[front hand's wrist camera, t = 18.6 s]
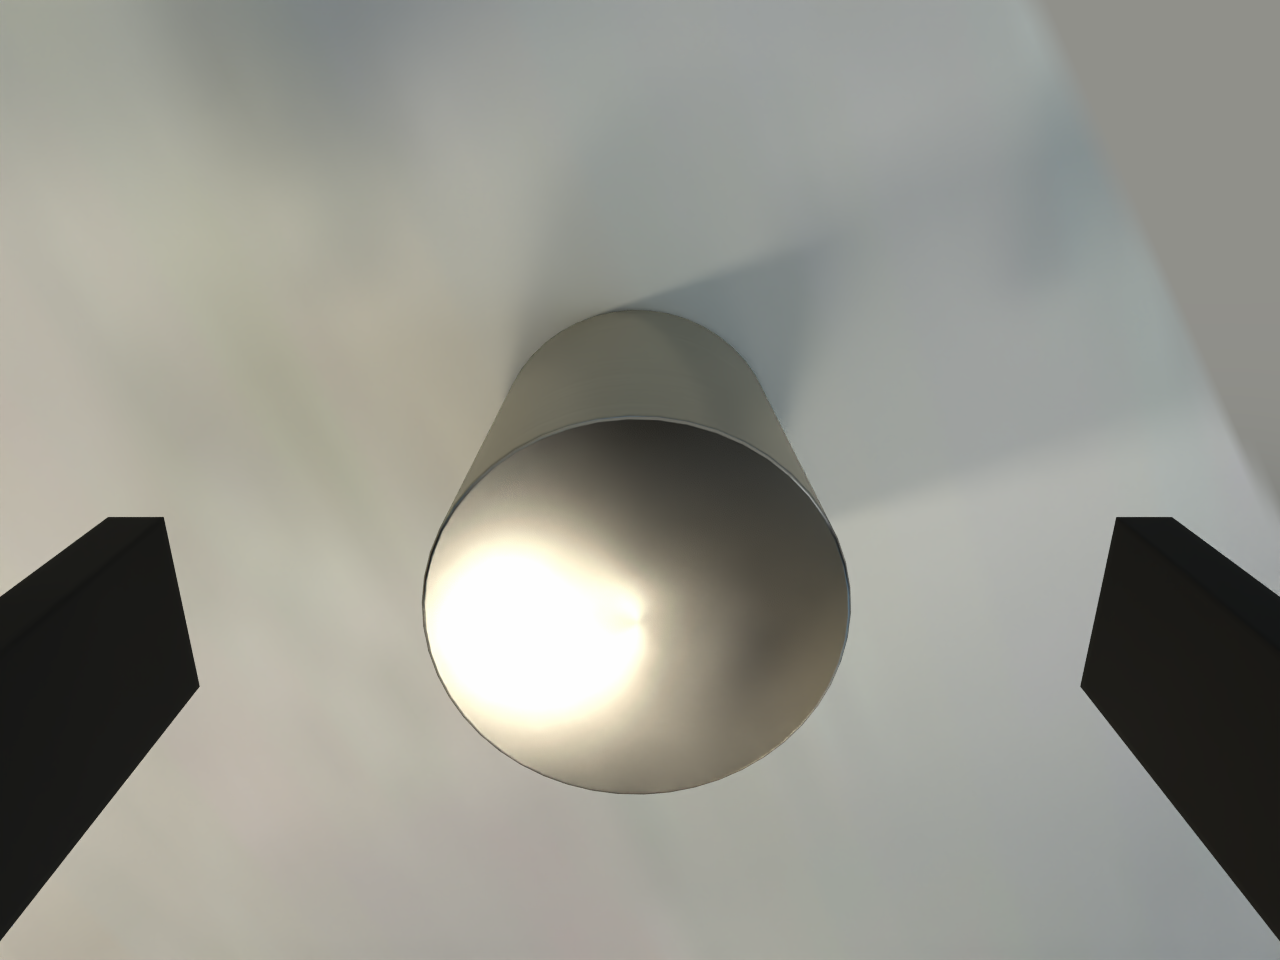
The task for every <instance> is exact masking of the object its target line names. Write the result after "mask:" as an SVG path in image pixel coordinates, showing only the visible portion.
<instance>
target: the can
mask: <svg viewBox="0 0 1280 960" xmlns="http://www.w3.org/2000/svg"><path fill="white" fill-rule="evenodd" d="M422 613H423V627H424V632H425V637H426V642H427V646H428V651H429V654H430V656H431V659H432V662H433V665H434V667H435V670H436V673H437V675H438V677H439V679H440V681H441V683H442V685H443V687H444V688H445V690H446V692H447V694H448V696H449V698H450V699H451V700H452V702H453V703H454V705H455V706H456V707H457V709H458V710H459V711H460V713H461V714H462V716H463V717H464V718H465V719H466V720H467V721H468V722H469V723H470V724H471V725H472V727H473V728H474V729H475V730H476V731H477V732H478V733H479V734H480V735H481V736H482V737H483V738H485V739H486V740H487V741H488V742H489V743H491V744H492V745H493V746H494V747H495V748H497V749H498V750H499V751H500V752H502V753H504V754H505V755H507V756H508V757H510V758H511V759H513V760H514V761H516V762H518V763H519V764H521V765H523V766H525V767H527V768H529V769H531V770H533V771H535V772H537V773H539V774H541V775H543V776H545V777H548V778H551V779H554V780H556V781H559V782H562V783H565V784H568V785H572V786H576V787H580V788H584V789H588V790H592V791H600V792H608V793H615V794H655V793H666V792H673V791H678V790H684V789H689V788H694V787H697V786H701V785H704V784H707V783H710V782H714V781H717V780H720V779H722V778H724V777H727V776H729V775H731V774H734V773H736V772H738V771H741V770H743V769H744V768H746V767H748V766H750V765H751V764H753V763H755V762H757V761H758V760H760V759H762V758H763V757H765V756H766V755H768V754H769V753H770V752H772V751H773V750H774V749H776V748H777V747H778V746H780V745H781V744H782V743H784V742H785V741H786V740H787V739H788V738H789V737H790V736H791V735H792V734H793V733H794V732H795V731H796V730H797V729H799V728H800V727H801V726H802V725H803V723H804V722H805V721H806V720H807V718H808V717H809V716H810V715H811V714H812V712H813V711H814V710H815V709H816V707H817V706H818V705H819V703H820V701H821V700H822V698H823V696H824V695H825V693H826V692H827V690H828V688H829V687H830V685H831V683H832V681H833V678H834V676H835V674H836V672H837V669H838V667H839V665H840V662H841V659H842V656H843V652H844V649H845V645H846V642H847V638H848V631H849V623H850V615H851V599H850V584H849V578H848V572H847V566H846V562H845V559H844V556H843V553H842V550H841V546H840V543H839V540H838V538H837V536H836V534H835V532H834V530H833V528H832V526H831V524H830V522H829V520H828V518H827V516H826V514H825V512H824V510H823V508H822V506H821V504H820V502H819V500H818V498H817V496H816V494H815V492H814V490H813V488H812V486H811V484H810V482H809V480H808V478H807V476H806V474H805V472H804V470H803V468H802V466H801V465H800V463H799V461H798V459H797V457H796V455H795V453H794V451H793V449H792V447H791V445H790V443H789V441H788V439H787V437H786V435H785V433H784V431H783V429H782V427H781V425H780V423H779V421H778V419H777V417H776V415H775V413H774V411H773V409H772V407H771V405H770V403H769V401H768V399H767V397H766V395H765V393H764V391H763V389H762V387H761V385H760V383H759V381H758V379H757V377H756V376H755V374H754V373H753V371H752V370H751V368H750V367H749V365H748V364H747V363H746V361H745V360H744V359H743V358H742V357H741V356H740V355H739V354H738V353H737V351H736V350H735V349H734V348H733V347H731V346H730V345H729V344H728V343H727V342H725V341H724V340H723V339H722V338H721V337H719V336H718V335H716V334H715V333H713V332H711V331H710V330H708V329H707V328H705V327H703V326H701V325H699V324H697V323H694V322H692V321H690V320H688V319H685V318H682V317H678V316H675V315H672V314H668V313H662V312H656V311H646V310H627V311H617V312H610V313H606V314H602V315H598V316H594V317H591V318H589V319H586V320H583V321H581V322H578V323H576V324H574V325H572V326H570V327H568V328H567V329H565V330H563V331H561V332H560V333H558V334H557V335H555V336H554V337H553V338H551V339H550V340H549V341H547V342H546V343H545V344H544V345H543V346H542V347H541V348H540V349H539V350H538V351H537V352H535V353H534V354H533V355H532V357H531V358H530V359H529V360H528V362H527V363H526V364H525V366H524V367H523V368H522V369H521V371H520V373H519V374H518V376H517V378H516V380H515V381H514V383H513V385H512V387H511V389H510V391H509V393H508V395H507V397H506V398H505V400H504V402H503V404H502V406H501V408H500V410H499V412H498V414H497V416H496V418H495V420H494V422H493V424H492V426H491V428H490V430H489V432H488V434H487V436H486V438H485V440H484V442H483V444H482V446H481V448H480V450H479V452H478V454H477V456H476V458H475V460H474V462H473V464H472V466H471V468H470V470H469V472H468V474H467V475H466V477H465V479H464V481H463V483H462V485H461V487H460V489H459V491H458V493H457V495H456V497H455V499H454V501H453V503H452V505H451V507H450V509H449V511H448V513H447V515H446V517H445V519H444V521H443V523H442V525H441V527H440V529H439V531H438V534H437V536H436V539H435V541H434V544H433V546H432V549H431V551H430V554H429V559H428V563H427V567H426V571H425V575H424V583H423V595H422Z"/></svg>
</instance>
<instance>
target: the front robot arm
mask: <svg viewBox="0 0 1280 960" xmlns="http://www.w3.org/2000/svg"><path fill="white" fill-rule="evenodd" d="M199 687H200V686H199V681H198V676H197V672H196V667H195V662H194V658H193V653H192V648H191V644H190V639H189V634H188V629H187V625H186V620H185V615H184V611H183V606H182V601H181V596H180V592H179V587H178V582H177V578H176V573H175V568H174V563H173V559H172V554H171V549H170V545H169V540H168V535H167V531H166V526H165V521H164V517H108V518H106V519H105V520H104V521H102V522H101V523H100V524H98V525H97V526H95V527H94V528H93V529H91V530H90V531H89V532H87V533H86V534H85V535H83V536H82V537H81V538H79V539H78V540H77V541H75V542H74V543H72V544H71V545H70V546H68V547H67V548H66V549H64V550H63V551H62V552H60V553H59V554H58V555H56V556H55V557H53V558H52V559H51V560H49V561H48V562H47V563H45V564H44V565H43V566H41V567H40V568H39V569H37V570H36V571H35V572H33V573H32V574H30V575H29V576H28V577H26V578H25V579H24V580H22V581H21V582H20V583H18V584H17V585H16V586H14V587H13V588H12V589H10V590H9V591H7V592H6V593H5V594H3V595H2V596H1V597H0V941H1V939H2V938H3V937H4V936H5V934H6V933H7V932H8V930H9V929H10V928H11V927H12V925H13V924H14V923H15V921H16V920H17V919H18V918H19V916H20V915H21V914H22V913H23V911H24V910H25V909H26V907H27V906H28V905H29V904H30V902H31V901H32V900H33V899H34V897H35V896H36V895H37V893H38V892H39V891H40V890H41V888H42V887H43V886H44V884H45V883H46V882H47V881H48V879H49V878H50V877H51V876H52V874H53V873H54V872H55V870H56V869H57V868H58V867H59V865H60V864H61V863H62V861H63V860H64V859H65V858H66V856H67V855H68V854H69V853H70V851H71V850H72V849H73V847H74V846H75V845H76V844H77V842H78V841H79V840H80V839H81V837H82V836H83V835H84V833H85V832H86V831H87V830H88V828H89V827H90V826H91V824H92V823H93V822H94V821H95V819H96V818H97V817H98V816H99V814H100V813H101V812H102V810H103V809H104V808H105V807H106V805H107V804H108V803H109V801H110V800H111V799H112V798H113V796H114V795H115V794H116V793H117V791H118V790H119V789H120V787H121V786H122V785H123V784H124V782H125V781H126V780H127V779H128V777H129V776H130V775H131V773H132V772H133V771H134V770H135V768H136V767H137V766H138V764H139V763H140V762H141V761H142V759H143V758H144V757H145V756H146V754H147V753H148V752H149V750H150V749H151V748H152V747H153V745H154V744H155V743H156V741H157V740H158V739H159V738H160V736H161V735H162V734H163V733H164V731H165V730H166V729H167V727H168V726H169V725H170V724H171V722H172V721H173V720H174V719H175V717H176V716H177V715H178V713H179V712H180V711H181V710H182V708H183V707H184V706H185V704H186V703H187V702H188V701H189V699H190V698H191V697H192V696H193V694H194V693H195V692H196V690H197V689H198V688H199ZM1080 687H1081V688H1082V689H1083V690H1084V692H1085V693H1086V694H1087V696H1088V697H1089V698H1090V699H1091V701H1092V702H1093V703H1094V704H1095V706H1096V707H1097V708H1098V710H1099V711H1100V712H1101V713H1102V715H1103V716H1104V717H1105V719H1106V720H1107V721H1108V722H1109V724H1110V725H1111V726H1112V727H1113V729H1114V730H1115V731H1116V733H1117V734H1118V735H1119V736H1120V738H1121V739H1122V740H1123V741H1124V743H1125V744H1126V745H1127V747H1128V748H1129V749H1130V750H1131V752H1132V753H1133V754H1134V756H1135V757H1136V758H1137V759H1138V761H1139V762H1140V763H1141V764H1142V766H1143V767H1144V768H1145V770H1146V771H1147V772H1148V773H1149V775H1150V776H1151V777H1152V779H1153V780H1154V781H1155V782H1156V784H1157V785H1158V786H1159V787H1160V789H1161V790H1162V791H1163V793H1164V794H1165V795H1166V796H1167V798H1168V799H1169V800H1170V801H1171V803H1172V804H1173V805H1174V807H1175V808H1176V809H1177V810H1178V812H1179V813H1180V814H1181V816H1182V817H1183V818H1184V819H1185V821H1186V822H1187V823H1188V824H1189V826H1190V827H1191V828H1192V830H1193V831H1194V832H1195V833H1196V835H1197V836H1198V837H1199V839H1200V840H1201V841H1202V842H1203V844H1204V845H1205V846H1206V847H1207V849H1208V850H1209V851H1210V853H1211V854H1212V855H1213V856H1214V858H1215V859H1216V860H1217V861H1218V863H1219V864H1220V865H1221V867H1222V868H1223V869H1224V870H1225V872H1226V873H1227V874H1228V876H1229V877H1230V878H1231V879H1232V881H1233V882H1234V883H1235V884H1236V886H1237V887H1238V888H1239V890H1240V891H1241V892H1242V893H1243V895H1244V896H1245V897H1246V899H1247V900H1248V901H1249V902H1250V904H1251V905H1252V906H1253V907H1254V909H1255V910H1256V911H1257V913H1258V914H1259V915H1260V916H1261V918H1262V919H1263V920H1264V921H1265V923H1266V924H1267V925H1268V927H1269V928H1270V929H1271V930H1272V932H1273V933H1274V934H1275V936H1276V937H1277V938H1278V939H1279V941H1280V597H1279V596H1278V595H1277V594H1275V593H1274V592H1273V591H1271V590H1270V589H1268V588H1267V587H1266V586H1264V585H1263V584H1262V583H1260V582H1259V581H1258V580H1256V579H1255V578H1254V577H1252V576H1251V575H1250V574H1248V573H1247V572H1245V571H1244V570H1243V569H1241V568H1240V567H1239V566H1237V565H1236V564H1235V563H1233V562H1232V561H1231V560H1229V559H1228V558H1227V557H1225V556H1224V555H1222V554H1221V553H1220V552H1218V551H1217V550H1216V549H1214V548H1213V547H1212V546H1210V545H1209V544H1208V543H1206V542H1205V541H1203V540H1202V539H1201V538H1199V537H1198V536H1197V535H1195V534H1194V533H1193V532H1191V531H1190V530H1189V529H1187V528H1186V527H1185V526H1183V525H1182V524H1180V523H1179V522H1178V521H1176V520H1175V519H1174V518H1172V517H1116V521H1115V526H1114V531H1113V535H1112V540H1111V545H1110V549H1109V554H1108V559H1107V563H1106V568H1105V573H1104V578H1103V582H1102V587H1101V592H1100V596H1099V601H1098V606H1097V611H1096V615H1095V620H1094V625H1093V629H1092V634H1091V639H1090V644H1089V648H1088V653H1087V658H1086V662H1085V667H1084V672H1083V676H1082V681H1081V686H1080Z"/></svg>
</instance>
